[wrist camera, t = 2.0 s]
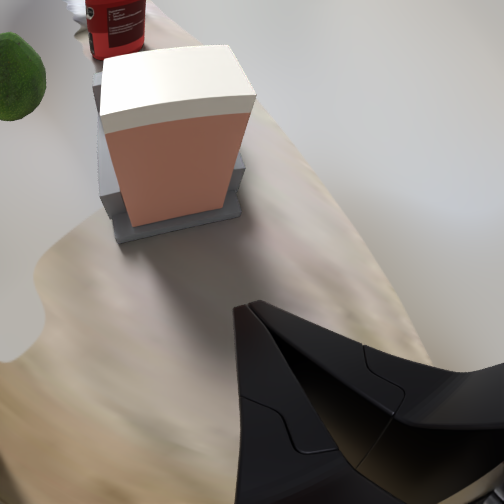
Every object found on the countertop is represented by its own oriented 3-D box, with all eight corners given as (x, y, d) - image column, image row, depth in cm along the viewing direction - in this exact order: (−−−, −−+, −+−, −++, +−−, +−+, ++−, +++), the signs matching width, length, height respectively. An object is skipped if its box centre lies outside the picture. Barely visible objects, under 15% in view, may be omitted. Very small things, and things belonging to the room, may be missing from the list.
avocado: (2, 109, 22) (-25, 41, 11) (52, 83, 24) (36, 8, 13) (-2, 148, 20) (-43, 72, 9) (54, 118, 23) (28, 30, 12)
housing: (242, 216, 23) (265, 165, 17) (114, 244, 20) (89, 199, 14) (206, 110, 27) (215, 56, 20) (104, 128, 24) (93, 73, 17)
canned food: (105, 37, 29) (103, -21, 19) (152, 38, 31) (156, -25, 21) (81, 62, 26) (72, -4, 16) (131, 62, 28) (131, -10, 18)
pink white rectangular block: (222, 207, 22) (256, 94, 12) (132, 227, 20) (100, 115, 10) (206, 158, 23) (228, 45, 13) (125, 173, 21) (103, 59, 11)
